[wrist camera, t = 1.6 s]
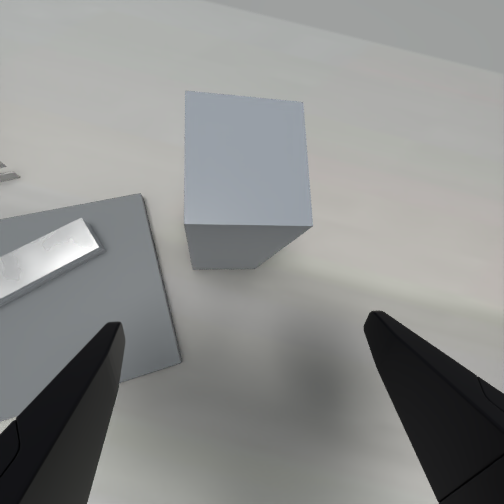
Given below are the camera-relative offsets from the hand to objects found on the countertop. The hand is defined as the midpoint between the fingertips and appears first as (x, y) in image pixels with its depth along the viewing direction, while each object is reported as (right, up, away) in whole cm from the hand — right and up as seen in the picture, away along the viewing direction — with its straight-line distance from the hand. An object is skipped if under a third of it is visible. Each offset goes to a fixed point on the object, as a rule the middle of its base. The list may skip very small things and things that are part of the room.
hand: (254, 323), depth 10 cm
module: (-2, +4, +13) cm, 14 cm away
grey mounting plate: (-16, -1, +10) cm, 18 cm away
